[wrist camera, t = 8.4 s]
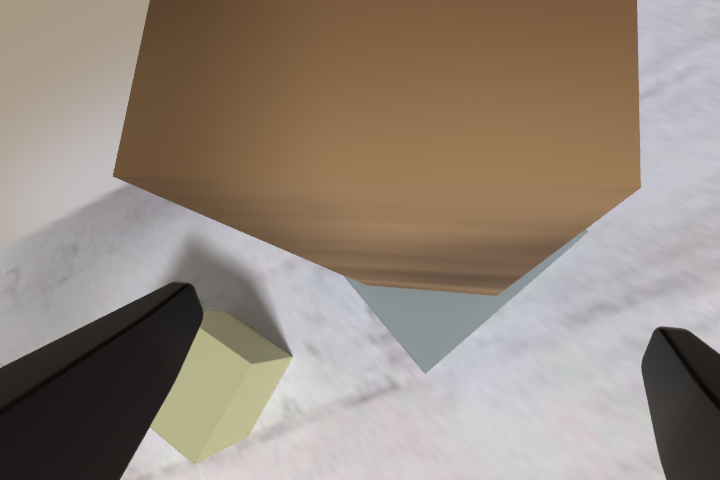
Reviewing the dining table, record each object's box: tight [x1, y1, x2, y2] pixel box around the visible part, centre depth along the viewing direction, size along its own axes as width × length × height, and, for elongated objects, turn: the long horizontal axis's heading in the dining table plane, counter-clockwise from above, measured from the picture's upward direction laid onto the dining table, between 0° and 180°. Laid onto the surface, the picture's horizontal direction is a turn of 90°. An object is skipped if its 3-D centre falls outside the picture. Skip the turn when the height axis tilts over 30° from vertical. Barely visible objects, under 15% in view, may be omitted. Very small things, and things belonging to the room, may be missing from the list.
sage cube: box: [150, 310, 293, 465], centre depth 20 cm, size 4×4×4 cm
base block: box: [343, 229, 588, 374], centre depth 19 cm, size 8×8×4 cm
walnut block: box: [113, 0, 641, 296], centre depth 11 cm, size 5×5×13 cm
